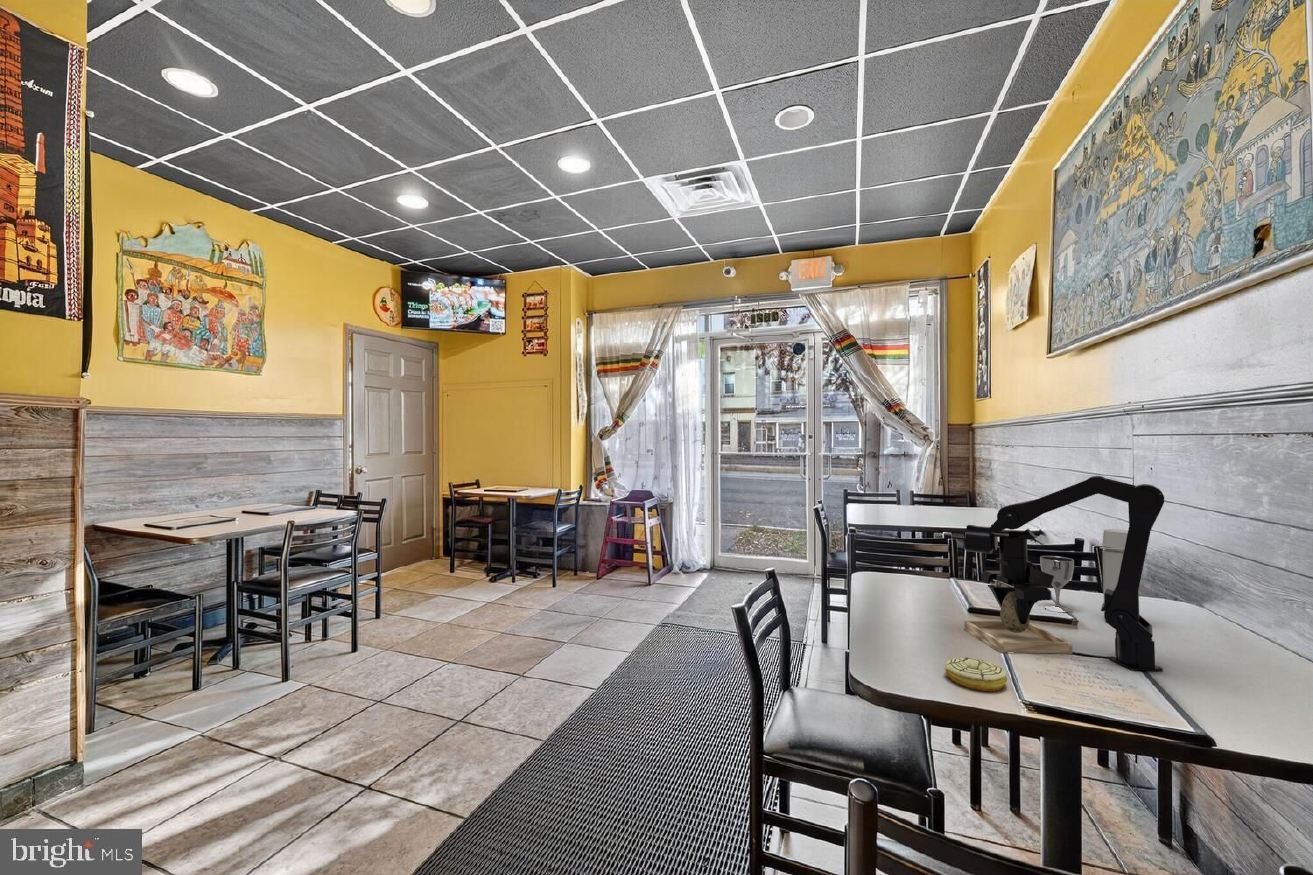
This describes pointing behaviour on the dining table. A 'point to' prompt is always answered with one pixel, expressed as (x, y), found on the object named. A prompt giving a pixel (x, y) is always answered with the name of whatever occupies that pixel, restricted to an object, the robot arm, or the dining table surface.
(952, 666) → the decorated donut
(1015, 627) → the decorative egg
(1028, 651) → the wooden tray
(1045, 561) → the wine glass
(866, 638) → the dining table surface
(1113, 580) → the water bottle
